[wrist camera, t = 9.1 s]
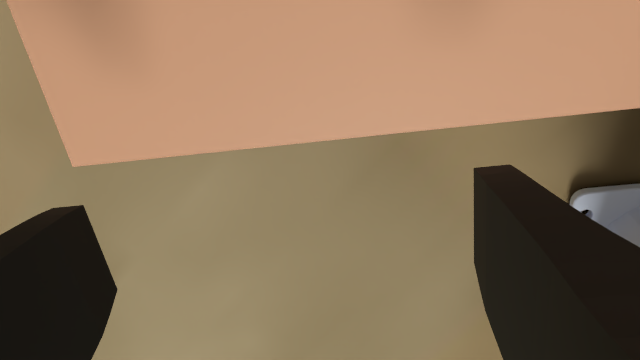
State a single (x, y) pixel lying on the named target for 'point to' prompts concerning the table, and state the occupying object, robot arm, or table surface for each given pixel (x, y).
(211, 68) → the lid
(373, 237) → the table surface
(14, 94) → the table surface
